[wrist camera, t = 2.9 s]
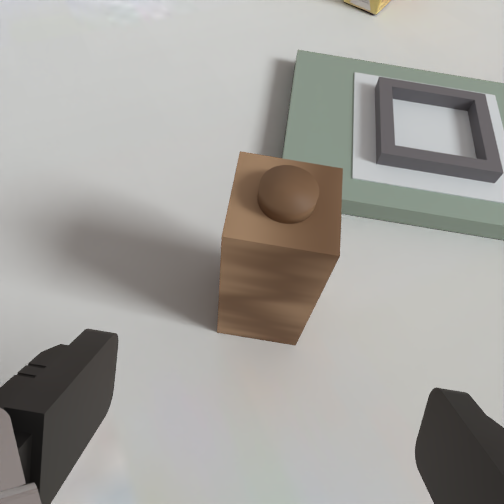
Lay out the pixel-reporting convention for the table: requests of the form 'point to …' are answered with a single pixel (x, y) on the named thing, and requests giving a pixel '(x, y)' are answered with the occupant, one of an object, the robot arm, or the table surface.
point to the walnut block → (277, 246)
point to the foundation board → (402, 141)
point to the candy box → (369, 5)
